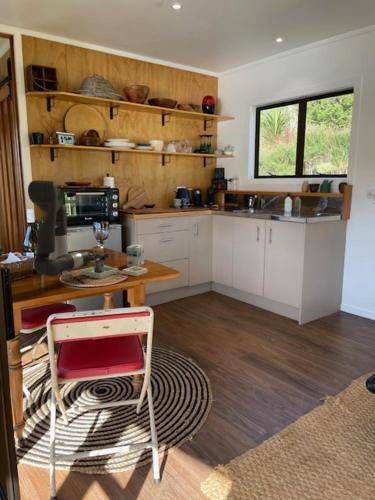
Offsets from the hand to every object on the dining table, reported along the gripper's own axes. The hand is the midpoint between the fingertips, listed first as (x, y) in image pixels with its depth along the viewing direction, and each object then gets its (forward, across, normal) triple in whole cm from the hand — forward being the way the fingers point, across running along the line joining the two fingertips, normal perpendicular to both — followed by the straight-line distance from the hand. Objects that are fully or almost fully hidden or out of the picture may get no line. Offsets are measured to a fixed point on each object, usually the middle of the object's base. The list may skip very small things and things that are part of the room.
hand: (101, 254), depth 187 cm
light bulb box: (+24, -2, +10) cm, 26 cm away
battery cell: (-2, 0, +9) cm, 9 cm away
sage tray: (-2, 0, +10) cm, 10 cm away
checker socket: (+10, -13, +10) cm, 19 cm away
